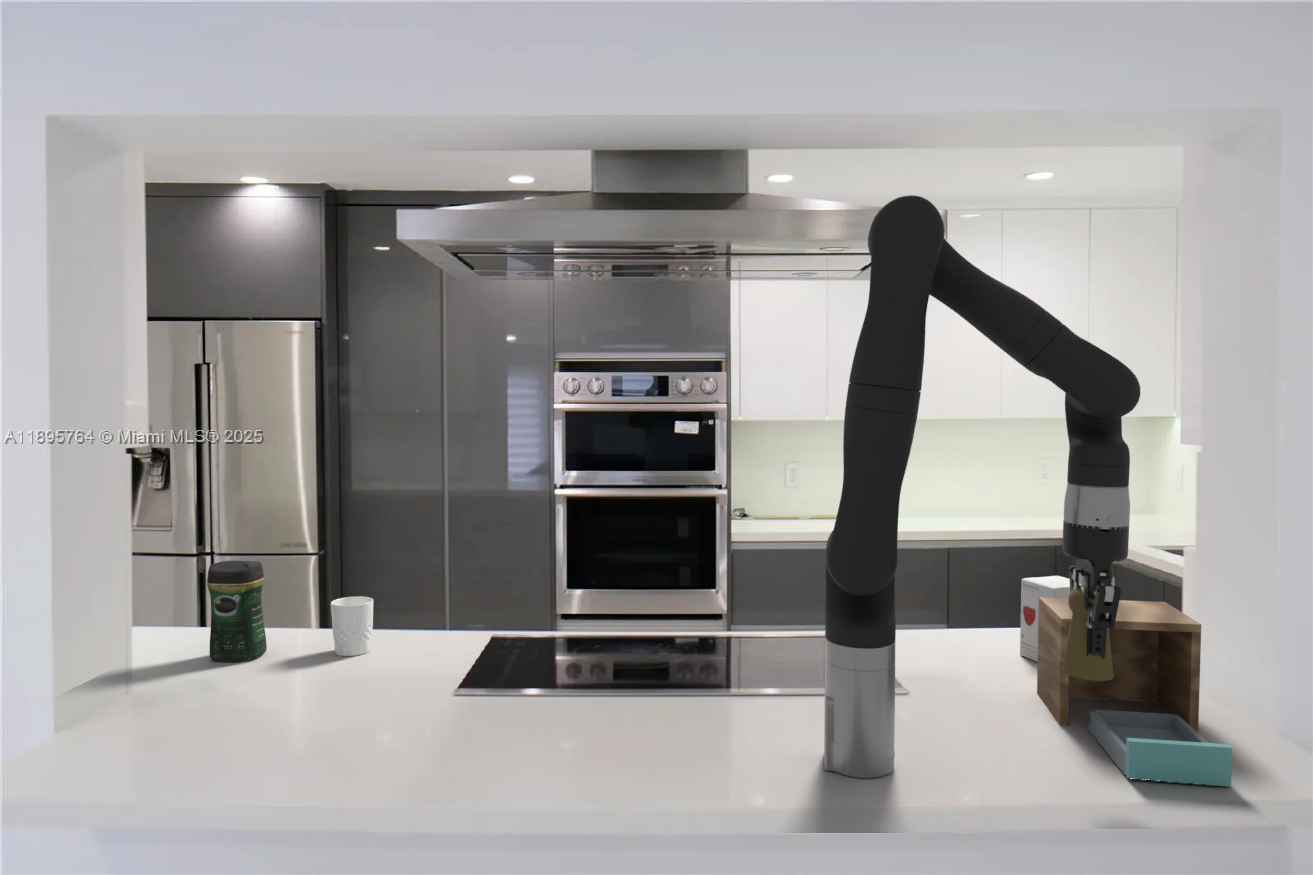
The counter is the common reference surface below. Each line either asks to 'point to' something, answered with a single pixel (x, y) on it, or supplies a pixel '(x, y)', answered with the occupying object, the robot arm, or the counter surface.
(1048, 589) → the supplement box
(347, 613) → the white cup
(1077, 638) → the olive pawn figure
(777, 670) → the counter surface
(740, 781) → the counter surface
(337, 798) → the counter surface
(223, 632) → the coffee jar
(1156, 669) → the wooden drawer cabinet
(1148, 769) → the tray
